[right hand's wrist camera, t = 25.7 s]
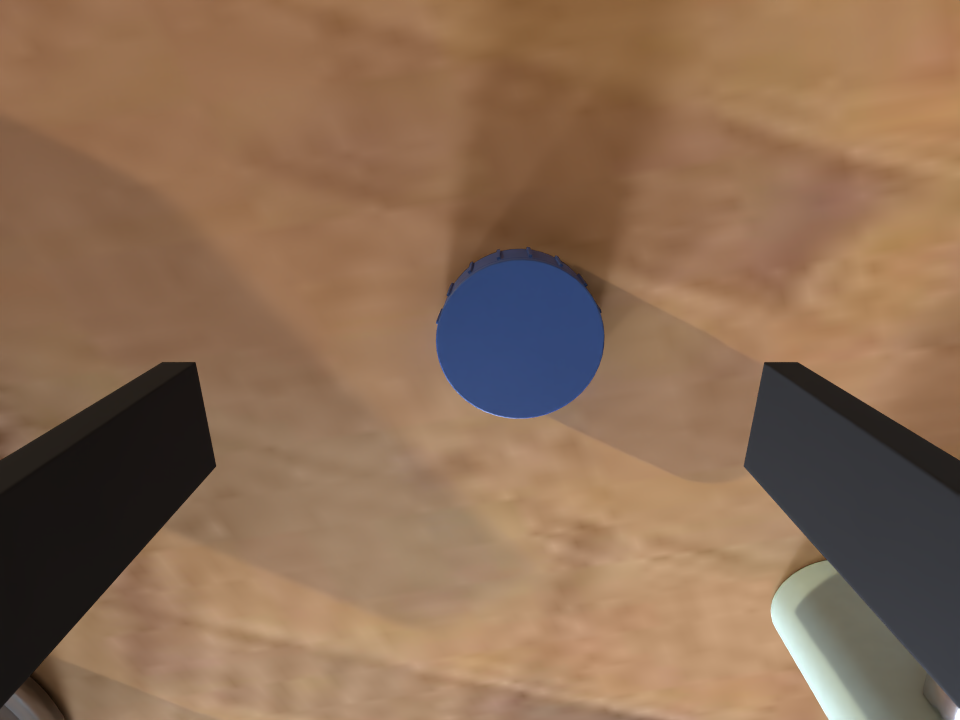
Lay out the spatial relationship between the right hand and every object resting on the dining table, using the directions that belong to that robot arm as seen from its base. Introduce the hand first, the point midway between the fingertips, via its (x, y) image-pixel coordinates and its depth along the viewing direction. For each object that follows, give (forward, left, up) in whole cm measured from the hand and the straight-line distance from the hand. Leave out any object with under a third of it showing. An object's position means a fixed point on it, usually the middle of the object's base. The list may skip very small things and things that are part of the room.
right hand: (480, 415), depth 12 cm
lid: (+1, -1, -5) cm, 5 cm away
